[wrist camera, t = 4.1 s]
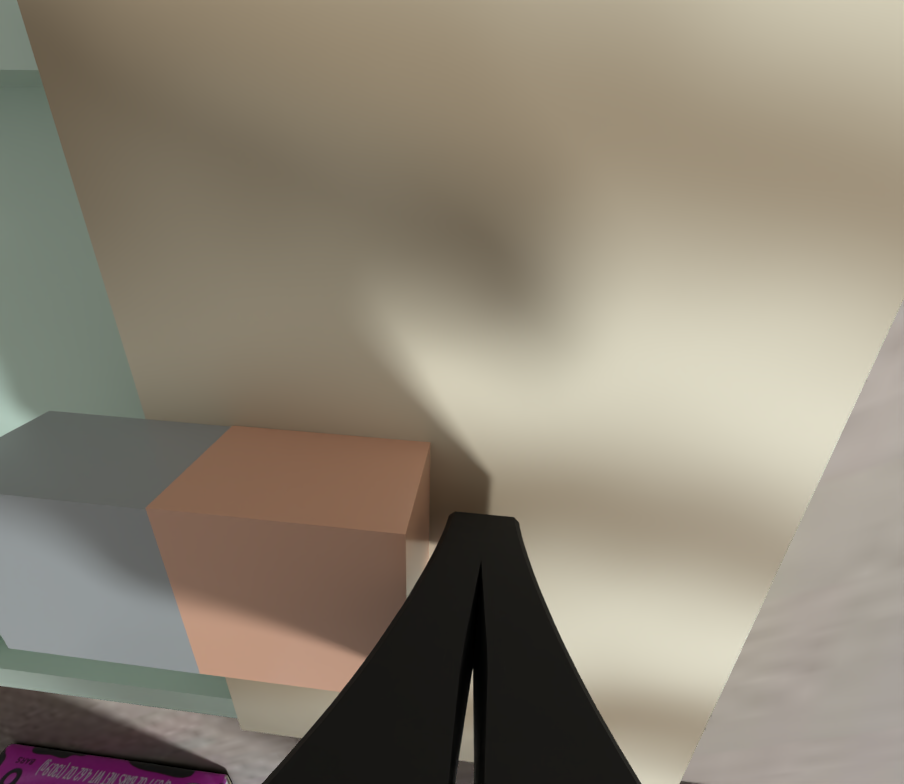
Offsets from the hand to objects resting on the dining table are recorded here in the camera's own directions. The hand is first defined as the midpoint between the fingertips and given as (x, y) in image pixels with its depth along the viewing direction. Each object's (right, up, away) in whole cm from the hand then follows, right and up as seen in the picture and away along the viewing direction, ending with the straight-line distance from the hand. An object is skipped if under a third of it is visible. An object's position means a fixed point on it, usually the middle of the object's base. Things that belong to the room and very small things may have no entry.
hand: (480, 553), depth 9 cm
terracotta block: (-3, +1, +1) cm, 3 cm away
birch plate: (0, +1, +3) cm, 3 cm away
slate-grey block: (-7, +1, +1) cm, 7 cm away
